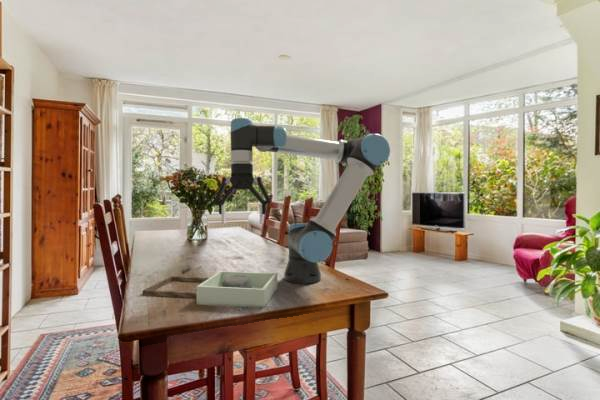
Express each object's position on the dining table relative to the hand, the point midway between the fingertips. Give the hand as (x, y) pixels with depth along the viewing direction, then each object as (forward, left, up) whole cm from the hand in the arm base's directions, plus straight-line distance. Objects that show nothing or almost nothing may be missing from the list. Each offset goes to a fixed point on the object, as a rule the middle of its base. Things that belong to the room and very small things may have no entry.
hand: (242, 223), depth 122 cm
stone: (0, +6, -24) cm, 25 cm away
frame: (+22, -2, -25) cm, 33 cm away
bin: (0, +4, -25) cm, 25 cm away
